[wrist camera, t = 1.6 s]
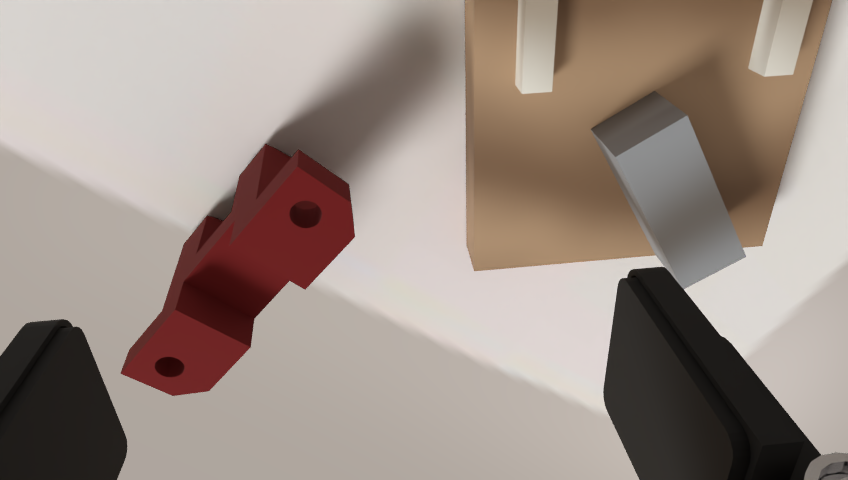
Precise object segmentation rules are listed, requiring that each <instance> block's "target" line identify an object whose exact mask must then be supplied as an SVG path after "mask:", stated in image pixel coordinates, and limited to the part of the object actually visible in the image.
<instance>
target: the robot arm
mask: <svg viewBox="0 0 848 480" xmlns="http://www.w3.org/2000/svg"><path fill="white" fill-rule="evenodd" d="M603 393H604V402H605V406H606V409H607V412H608V414H609V416H610V418H611V420H612V422H613V424H614V426H615V429H616V430H617V433H618V435H619V437H620V439H621V441H622V443H623V445H624V448H625V450H626V452H627V454H628V456H629V458H630V460H631V462H632V465H633V467H634V469H635V471H636V473H637V475H638V477H639V479H640V480H848V453H831V454H825V455H821V454H820V453H819V452H818V451H817V449H816V448H815V447H814V446H813V444H812V443H811V442H810V441H809V439H808V438H807V437H806V436H805V435H804V433H803V432H802V431H801V430H800V428H799V427H798V426H797V425H796V423H795V422H794V421H793V420H792V418H791V417H790V416H789V415H788V413H787V412H786V411H785V410H784V408H783V407H782V406H781V405H780V404H779V402H778V401H777V400H776V399H775V397H774V396H773V395H772V394H771V392H770V391H769V390H768V389H767V387H765V385H764V384H763V383H762V381H761V380H760V379H759V378H758V376H757V375H756V374H755V373H754V371H753V370H752V369H751V368H750V366H749V365H748V364H747V363H746V361H745V360H744V359H743V358H742V356H741V355H740V354H739V353H738V352H737V350H736V349H735V348H734V347H733V345H732V344H731V343H730V342H729V341H728V340H727V339H726V338H724V337H722V336H720V335H719V333H718V332H717V331H716V330H715V328H714V327H713V326H712V325H711V323H710V322H709V321H708V320H707V318H706V317H705V316H704V315H703V313H702V312H701V311H700V310H699V308H698V307H697V306H696V305H695V303H694V302H693V301H692V300H691V298H690V297H689V296H688V295H687V293H686V292H685V291H684V289H683V288H682V287H681V286H680V284H679V283H678V282H677V281H676V279H675V278H674V277H673V276H672V274H671V273H670V272H669V271H668V270H667V269H666V268H665V267H655V268H643V269H633V270H631V271H630V272H629V274H628V277H627V278H622V279H620V281H619V283H618V289H617V296H616V303H615V310H614V317H613V325H612V332H611V339H610V346H609V354H608V361H607V368H606V375H605V383H604V392H603ZM126 453H127V439H126V436H125V433H124V431H123V428H122V426H121V423H120V421H119V419H118V416H117V414H116V411H115V409H114V406H113V404H112V401H111V399H110V396H109V394H108V391H107V389H106V386H105V384H104V382H103V379H102V377H101V374H100V372H99V370H98V367H97V364H96V362H95V360H94V357H93V355H92V352H91V350H90V347H89V345H88V342H87V340H86V337H85V335H84V333H83V331H82V330H81V329H80V328H79V327H73V326H72V324H71V323H70V322H69V321H67V320H64V319H62V320H51V321H39V322H30V323H27V324H25V325H24V326H23V327H22V329H21V330H20V331H19V332H18V334H17V335H16V336H15V338H14V339H13V340H12V342H11V343H10V344H9V346H8V347H7V348H6V350H5V351H4V352H3V354H2V355H1V356H0V480H117V478H118V475H119V473H120V471H121V468H122V466H123V463H124V461H125V458H126Z"/></svg>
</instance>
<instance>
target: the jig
mask: <svg viewBox="0 0 848 480" xmlns="http://www.w3.org/2000/svg"><path fill="white" fill-rule="evenodd" d="M831 3H832V0H465V72H466V218H467V248H468V251H469V255H470V258H471V262H472V265H473V268H474V271H481V270H493V269H504V268H515V267H527V266H538V265H550V264H561V263H572V262H584V261H595V260H607V259H618V258H629V257H641V256H652V255H656V256H657V257H658V259H659V260H660V261H661V263H662V264H663V265H664V266H665V268H666V269H667V270H668V271H669V272H670V273H671V274H672V276H673V277H674V278H675V279H676V281H677V282H678V283H679V284H680V286H681V287H682V288H683V289H685V288H687V287H689V286H691V285H693V284H695V283H696V282H698V281H700V280H702V279H704V278H706V277H708V276H710V275H712V274H714V273H716V272H718V271H720V270H721V269H723V268H725V267H727V266H729V265H731V264H733V263H735V262H737V261H739V260H741V259H743V258H745V257H746V255H745V253H744V250H743V247H755V246H762V245H763V241H764V238H765V234H766V231H767V227H768V224H769V220H770V217H771V213H772V210H773V206H774V203H775V199H776V196H777V192H778V189H779V185H780V182H781V178H782V175H783V171H784V168H785V164H786V161H787V157H788V154H789V150H790V147H791V143H792V140H793V136H794V133H795V129H796V126H797V122H798V119H799V115H800V112H801V108H802V105H803V101H804V98H805V94H806V91H807V87H808V84H809V80H810V77H811V73H812V70H813V66H814V63H815V59H816V56H817V52H818V49H819V45H820V42H821V38H822V35H823V31H824V28H825V24H826V21H827V17H828V14H829V10H830V7H831Z"/></svg>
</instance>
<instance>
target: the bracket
mask: <svg viewBox="0 0 848 480" xmlns="http://www.w3.org/2000/svg"><path fill="white" fill-rule="evenodd" d="M354 237H355V234H354V222H353V213H352V205H351V197H350V189H349V184H347V183H346V182H345V181H343V180H342V179H340V178H339V177H337V176H336V175H335V174H333V173H332V172H330V171H329V170H327V169H326V168H324V167H323V166H322V165H320V164H319V163H317V162H316V161H314V160H313V159H312V158H310V157H309V156H307V155H306V154H304V153H303V152H302V151H300V150H299V149H298V150H297V152H296V153H295V154H294V155H293V156H292V158H291V157H290V156H288V155H286V154H284V153H283V152H281V151H279V150H277V149H275V148H273V147H271V146H269V145H267V144H265V145H264V147H263V148H262V149H261V150H260V151H259V153H258V154H257V155H256V156H255V158H254V159H253V160H252V161H251V162H250V164H249V165H248V166H247V167H246V169H245V170H244V171H243V172H242V173H241V175H240V176H239V181H238V185H237V189H236V194H235V198H234V202H233V207H232V211H231V213H230V214H229V215H228V216H227V217H226V219H225V220H224V221H222V220H219V219H217V218H214V217H211V216H206V218H205V219H204V220H203V221H202V223H201V224H200V225H199V226H198V227H197V229H196V230H195V231H194V232H193V234H192V235H191V236H190V237H189V239H188V240H187V241H186V242H185V243H184V245H183V249H182V252H181V255H180V258H179V261H178V264H177V267H176V270H175V273H174V276H173V279H172V282H171V286H170V288H169V291H168V294H167V298H166V301H165V304H164V307H163V310H162V312H161V313H160V314H159V315H158V316H157V318H156V319H155V320H154V321H153V322H152V324H151V325H150V326H149V327H148V328H147V330H146V331H145V332H144V333H143V335H142V336H141V337H140V338H139V339H138V340H137V342H136V343H135V344H134V345H133V346H132V347H131V348H130V350H129V352H128V355H127V357H126V360H125V363H124V366H123V368H122V371H121V374H123V375H125V376H128V377H130V378H133V379H135V380H137V381H139V382H142V383H144V384H146V385H149V386H151V387H153V388H156V389H158V390H160V391H163V392H165V393H168V394H170V395H172V396H175V395H182V394H190V393H198V392H206V391H209V390H210V389H211V388H212V387H213V386H214V385H215V384H216V383H217V382H218V381H219V380H220V379H221V378H222V377H223V376H224V375H225V374H226V373H227V371H228V370H229V369H230V368H231V367H232V366H233V365H234V364H235V363H236V362H237V361H238V360H239V359H240V358H241V357H242V356H243V354H245V352H246V351H247V350H248V349H249V348H250V347H251V339H252V332H253V324H254V318H255V317H256V316H257V315H258V314H259V313H260V312H261V311H262V310H263V309H264V308H265V307H266V305H267V304H268V303H269V302H270V301H271V300H272V299H273V298H274V297H275V296H276V295H277V294H278V292H279V291H280V290H281V289H282V288H283V287H284V286H285V285H286V284H287V283H288V282H289V281H291V282H293V283H295V284H296V285H298V286H300V287H302V288H303V289H306V288H307V287H308V286H309V285H310V284H311V283H312V282H313V281H314V280H315V279H316V277H317V276H318V275H319V274H320V273H321V272H322V271H323V270H324V269H325V268H326V267H327V266H328V265H329V264H330V263H331V262H332V261H333V260H334V258H335V257H336V256H337V255H338V254H339V253H340V252H341V251H342V250H343V249H344V248H345V247H346V246H347V245H348V244H349V243H350V242H351V241H352V239H353V238H354Z"/></svg>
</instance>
